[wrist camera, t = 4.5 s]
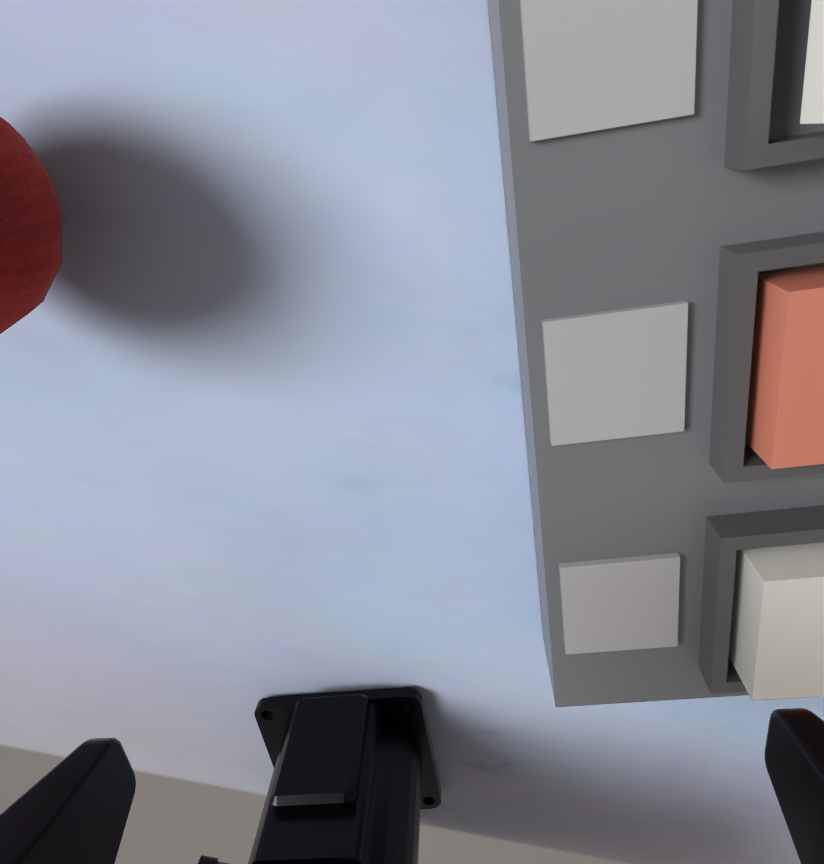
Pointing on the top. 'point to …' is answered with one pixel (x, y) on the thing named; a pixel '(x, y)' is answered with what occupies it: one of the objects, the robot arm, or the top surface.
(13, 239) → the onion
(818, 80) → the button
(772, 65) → the button panel
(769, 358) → the button middle
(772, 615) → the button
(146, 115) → the top surface
